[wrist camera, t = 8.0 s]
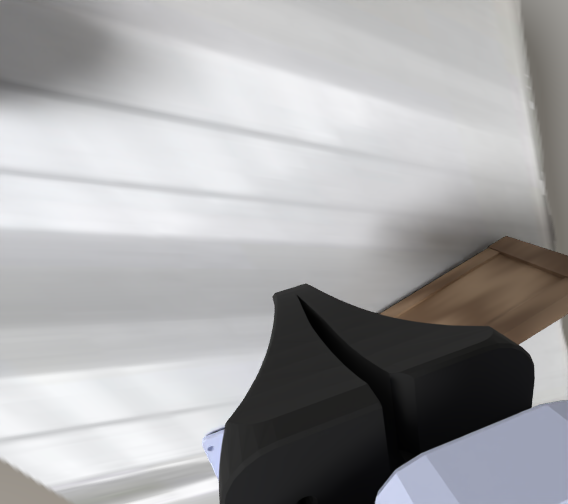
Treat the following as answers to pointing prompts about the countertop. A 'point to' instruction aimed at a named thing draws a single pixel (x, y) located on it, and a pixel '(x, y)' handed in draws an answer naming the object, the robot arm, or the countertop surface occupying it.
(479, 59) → the countertop surface
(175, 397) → the countertop surface
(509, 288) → the gate
